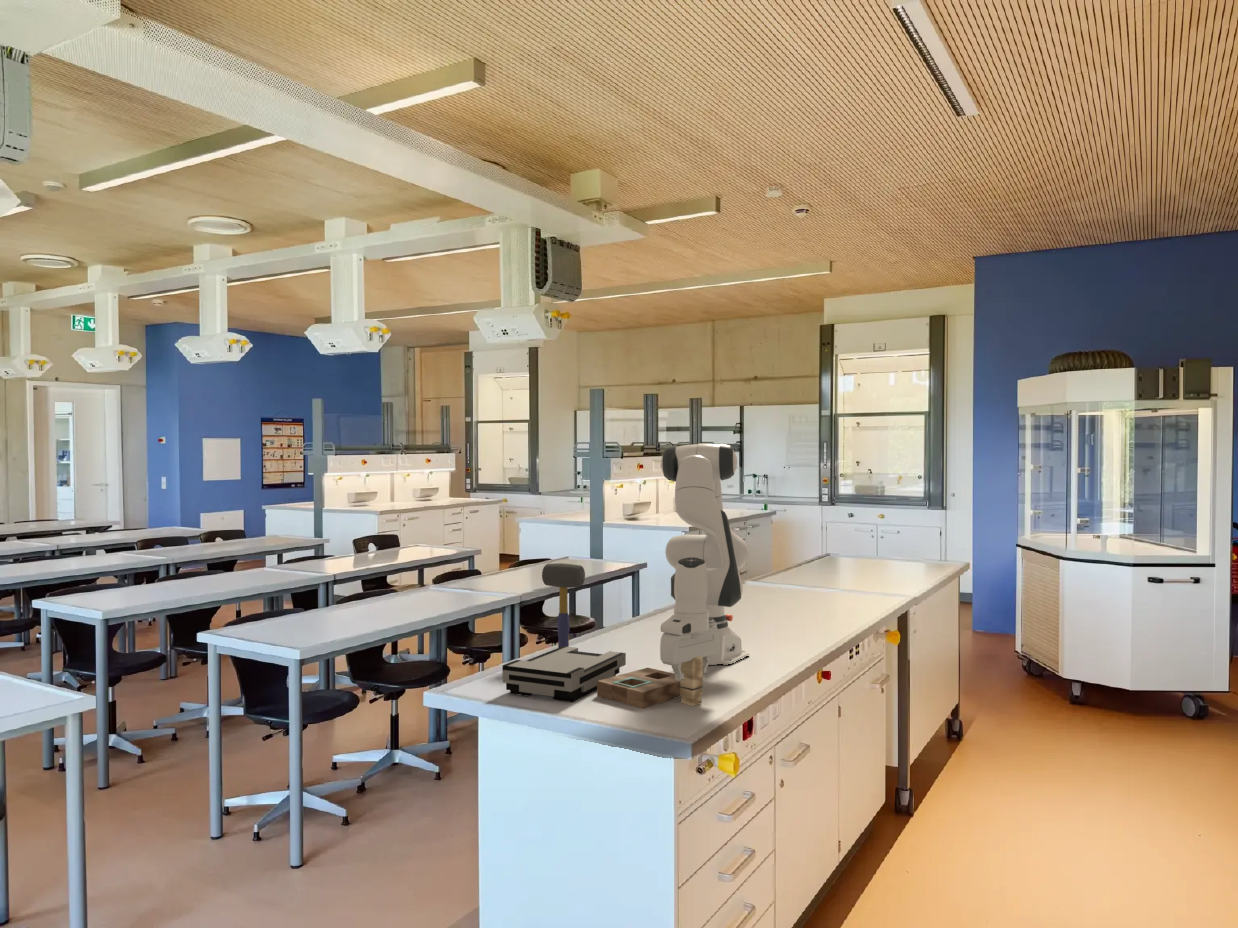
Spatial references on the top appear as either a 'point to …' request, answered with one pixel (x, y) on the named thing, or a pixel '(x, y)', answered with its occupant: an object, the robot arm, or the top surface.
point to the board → (640, 687)
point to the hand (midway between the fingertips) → (691, 676)
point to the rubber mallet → (563, 592)
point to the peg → (692, 681)
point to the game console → (561, 673)
